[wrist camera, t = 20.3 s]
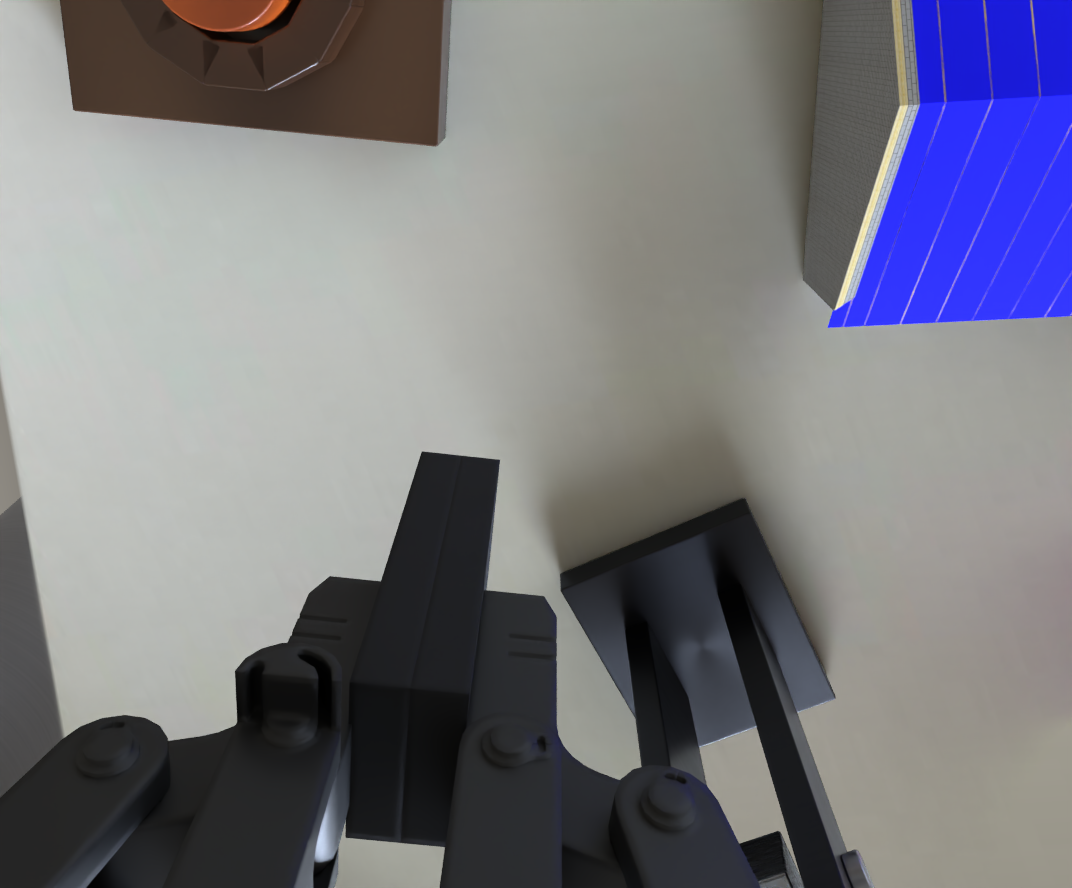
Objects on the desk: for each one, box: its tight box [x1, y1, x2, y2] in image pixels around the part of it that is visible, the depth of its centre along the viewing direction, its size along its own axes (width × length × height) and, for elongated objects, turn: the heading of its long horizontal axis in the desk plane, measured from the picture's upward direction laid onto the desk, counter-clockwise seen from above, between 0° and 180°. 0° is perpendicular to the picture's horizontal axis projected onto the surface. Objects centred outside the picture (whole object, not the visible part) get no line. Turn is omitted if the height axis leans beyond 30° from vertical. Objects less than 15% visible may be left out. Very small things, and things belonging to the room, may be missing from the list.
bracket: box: [560, 498, 874, 888], centre depth 30 cm, size 10×8×15 cm
